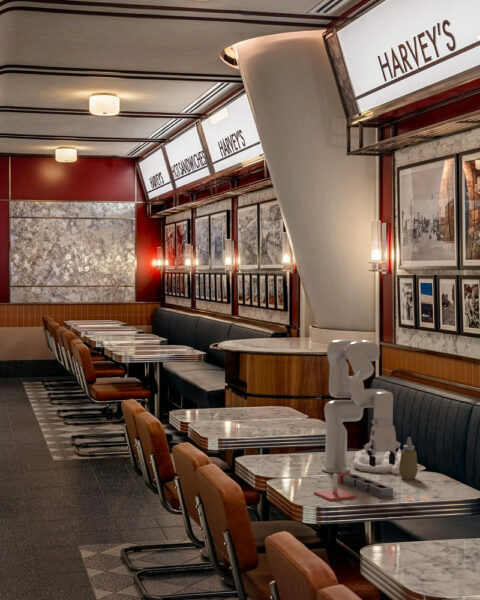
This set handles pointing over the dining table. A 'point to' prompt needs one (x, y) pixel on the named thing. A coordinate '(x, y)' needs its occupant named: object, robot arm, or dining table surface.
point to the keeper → (334, 492)
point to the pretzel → (377, 462)
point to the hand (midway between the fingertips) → (382, 465)
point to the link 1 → (351, 480)
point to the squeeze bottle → (408, 462)
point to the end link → (380, 490)
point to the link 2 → (364, 484)
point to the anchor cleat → (340, 476)
